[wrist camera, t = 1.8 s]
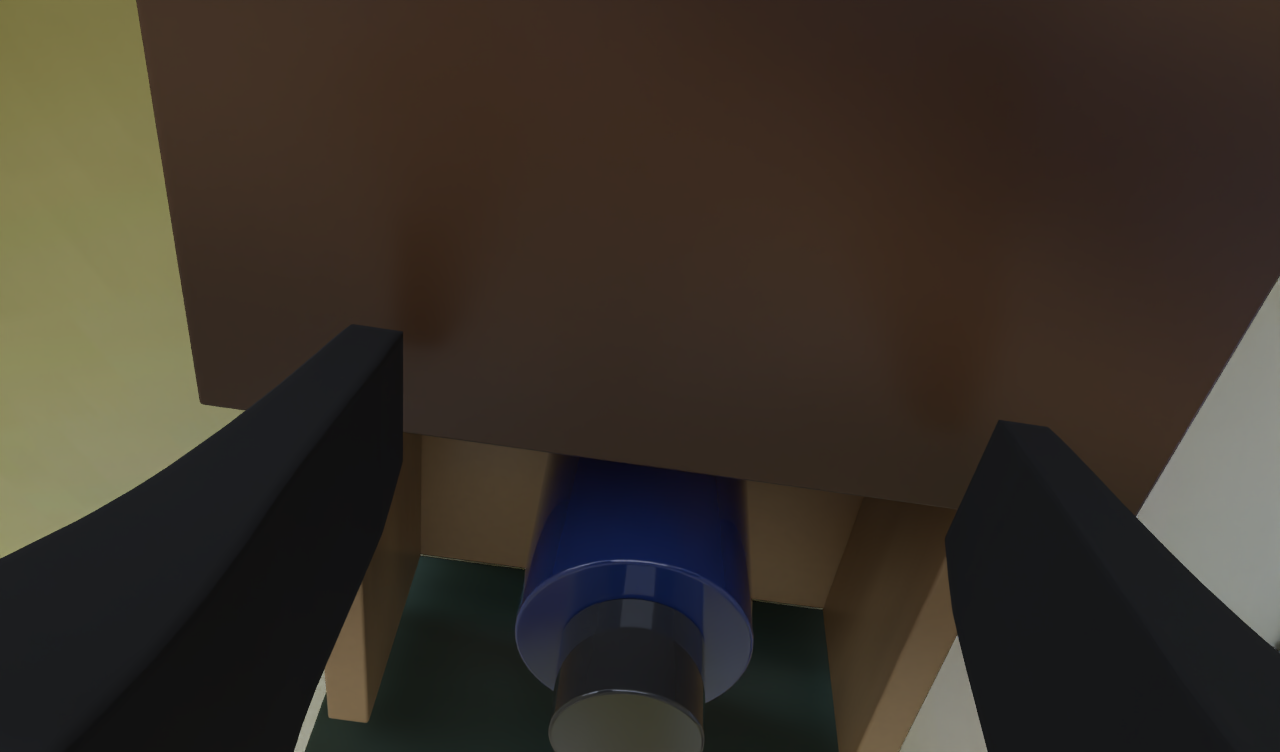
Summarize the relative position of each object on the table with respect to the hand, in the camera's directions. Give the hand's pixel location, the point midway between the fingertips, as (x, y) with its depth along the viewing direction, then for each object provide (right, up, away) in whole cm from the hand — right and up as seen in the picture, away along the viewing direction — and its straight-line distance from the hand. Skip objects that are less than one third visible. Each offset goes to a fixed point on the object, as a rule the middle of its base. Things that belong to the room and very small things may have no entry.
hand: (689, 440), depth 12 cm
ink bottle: (0, -1, +9) cm, 9 cm away
